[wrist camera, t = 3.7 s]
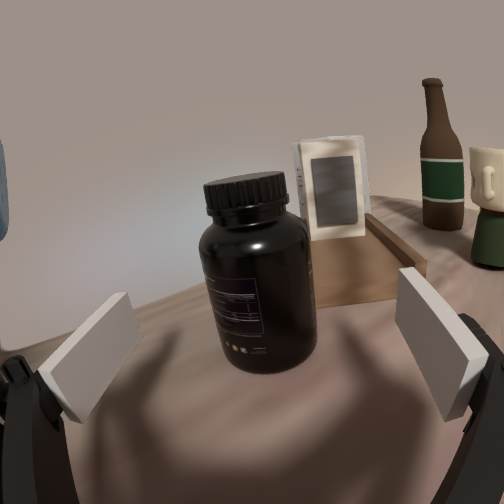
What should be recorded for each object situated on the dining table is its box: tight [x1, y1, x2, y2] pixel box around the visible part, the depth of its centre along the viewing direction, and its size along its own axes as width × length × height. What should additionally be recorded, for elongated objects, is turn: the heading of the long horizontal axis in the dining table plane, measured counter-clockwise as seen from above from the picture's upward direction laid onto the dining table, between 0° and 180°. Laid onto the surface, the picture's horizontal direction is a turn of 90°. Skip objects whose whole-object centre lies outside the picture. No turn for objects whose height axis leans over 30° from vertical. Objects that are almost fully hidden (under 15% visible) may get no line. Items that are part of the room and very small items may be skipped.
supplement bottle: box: [199, 171, 317, 374], centre depth 19 cm, size 7×7×12 cm
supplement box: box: [291, 136, 371, 219], centre depth 47 cm, size 9×9×15 cm
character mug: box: [469, 147, 504, 267], centre depth 23 cm, size 11×7×13 cm, turn 117°
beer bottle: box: [420, 78, 464, 231], centre depth 37 cm, size 8×8×24 cm
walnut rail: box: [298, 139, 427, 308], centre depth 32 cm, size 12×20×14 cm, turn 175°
